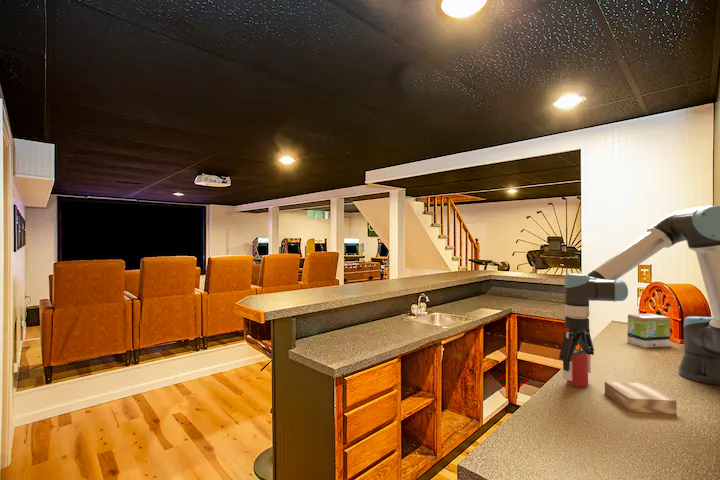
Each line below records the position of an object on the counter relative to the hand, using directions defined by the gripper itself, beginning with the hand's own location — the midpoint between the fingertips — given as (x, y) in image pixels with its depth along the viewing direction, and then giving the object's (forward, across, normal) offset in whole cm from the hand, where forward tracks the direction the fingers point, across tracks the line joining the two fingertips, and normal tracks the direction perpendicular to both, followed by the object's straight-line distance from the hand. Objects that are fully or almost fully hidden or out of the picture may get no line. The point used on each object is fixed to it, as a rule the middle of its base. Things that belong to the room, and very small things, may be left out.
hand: (577, 375), depth 127 cm
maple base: (+3, 0, +18) cm, 18 cm away
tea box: (+4, -83, -5) cm, 83 cm away
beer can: (+3, 0, 0) cm, 3 cm away
